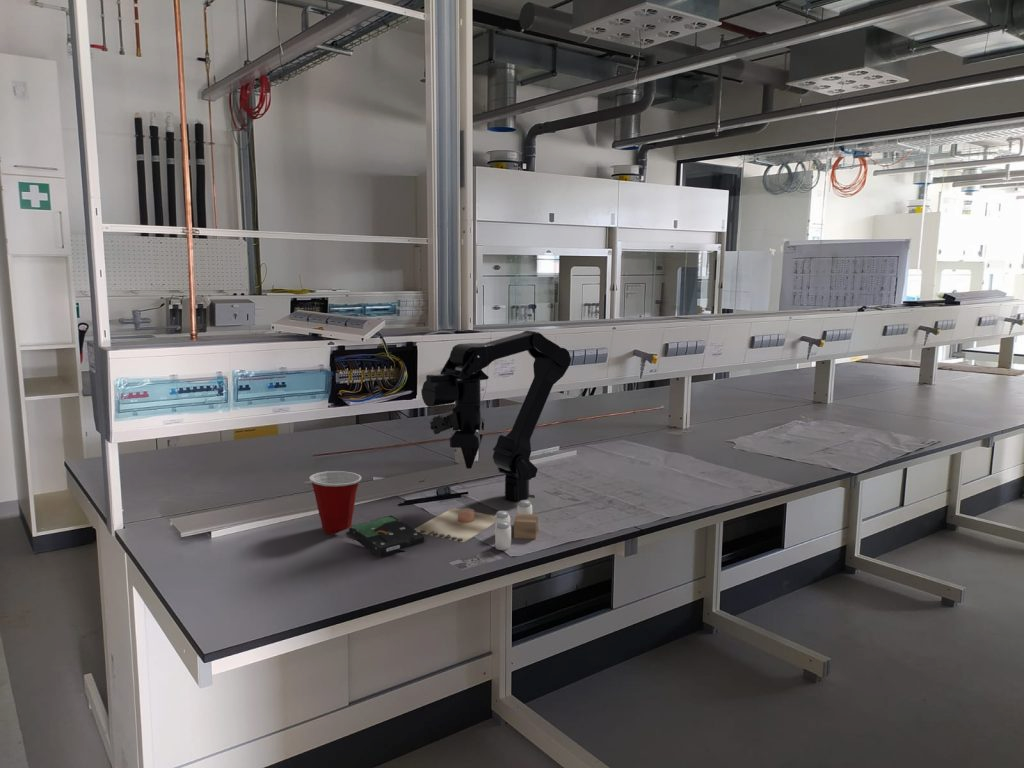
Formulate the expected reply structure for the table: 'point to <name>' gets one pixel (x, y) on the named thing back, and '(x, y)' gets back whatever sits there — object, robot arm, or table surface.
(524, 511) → the vial
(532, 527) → the walnut block
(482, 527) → the beige flat board
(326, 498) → the plastic cup
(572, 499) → the table surface
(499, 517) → the vial
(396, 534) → the disk drive
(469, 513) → the puck
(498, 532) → the vial
